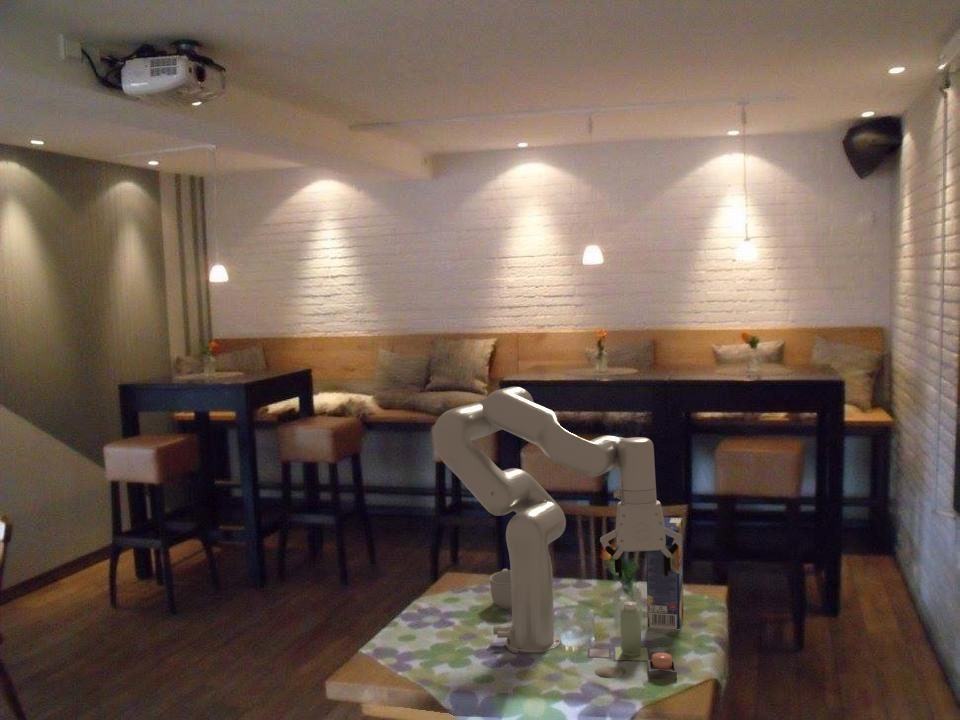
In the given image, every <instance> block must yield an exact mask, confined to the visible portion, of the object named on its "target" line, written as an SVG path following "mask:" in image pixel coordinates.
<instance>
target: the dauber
mask: <svg viewBox="0 0 960 720" xmlns="http://www.w3.org/2000/svg"><path fill="white" fill-rule="evenodd" d="M619 611H620V612H619V613H620V615H619V617H620V619H619V620H620V623H619V624H620V647H621V650H622V655H624V656H626V657H638V656H640V651H641V647H642V613H641V608H640V607H638V604H637V602H635V601H625V602H624V603H623V606H621V607H620V608H619Z"/></svg>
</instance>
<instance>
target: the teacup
mask: <svg viewBox="0 0 960 720" xmlns="http://www.w3.org/2000/svg"><path fill="white" fill-rule="evenodd" d="M489 581H490V593H491V598H492V601H493V602H494V603H495V604H496V605H497V606H499V608H502V609H503V610H512V595H511V571H510V569H508V568H503V569H501V571H498V572H494V573H493V574H492V575H490V576H489Z"/></svg>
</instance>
